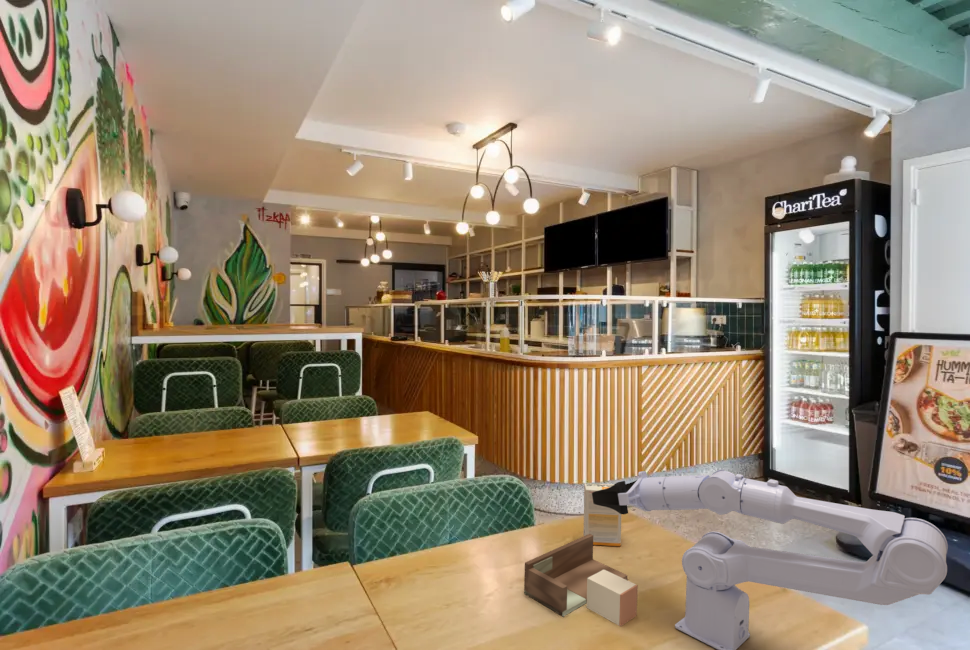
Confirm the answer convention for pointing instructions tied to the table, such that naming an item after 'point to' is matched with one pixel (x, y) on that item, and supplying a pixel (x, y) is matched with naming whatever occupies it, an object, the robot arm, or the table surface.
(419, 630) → the table surface
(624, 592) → the cream rectangular block
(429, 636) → the table surface
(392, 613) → the table surface
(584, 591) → the shelf
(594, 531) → the supplement box
